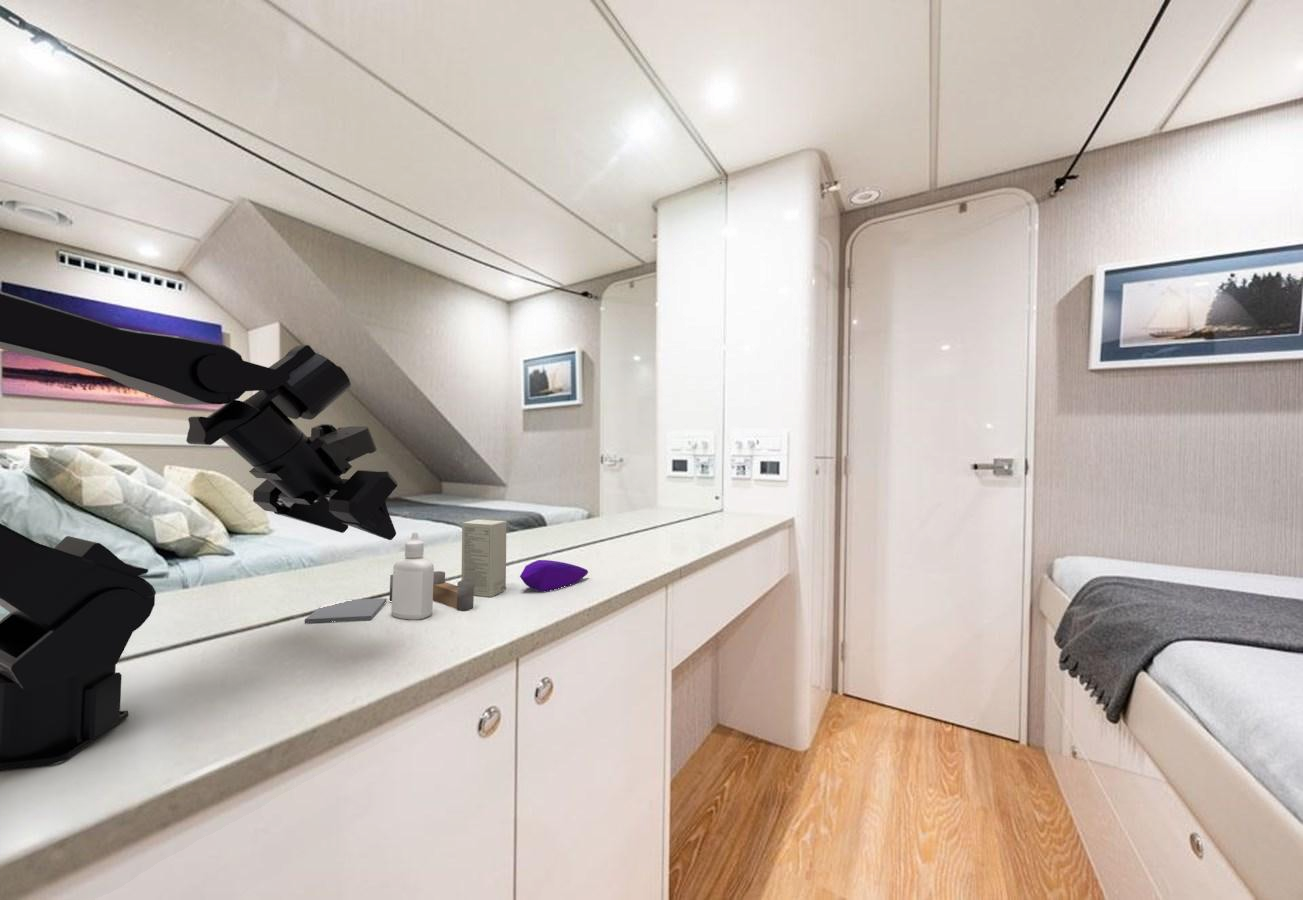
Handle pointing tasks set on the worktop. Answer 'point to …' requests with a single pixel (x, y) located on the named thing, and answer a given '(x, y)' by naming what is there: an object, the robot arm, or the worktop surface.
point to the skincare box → (484, 555)
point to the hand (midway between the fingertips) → (368, 533)
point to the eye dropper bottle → (413, 583)
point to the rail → (450, 592)
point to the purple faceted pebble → (551, 575)
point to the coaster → (347, 611)
